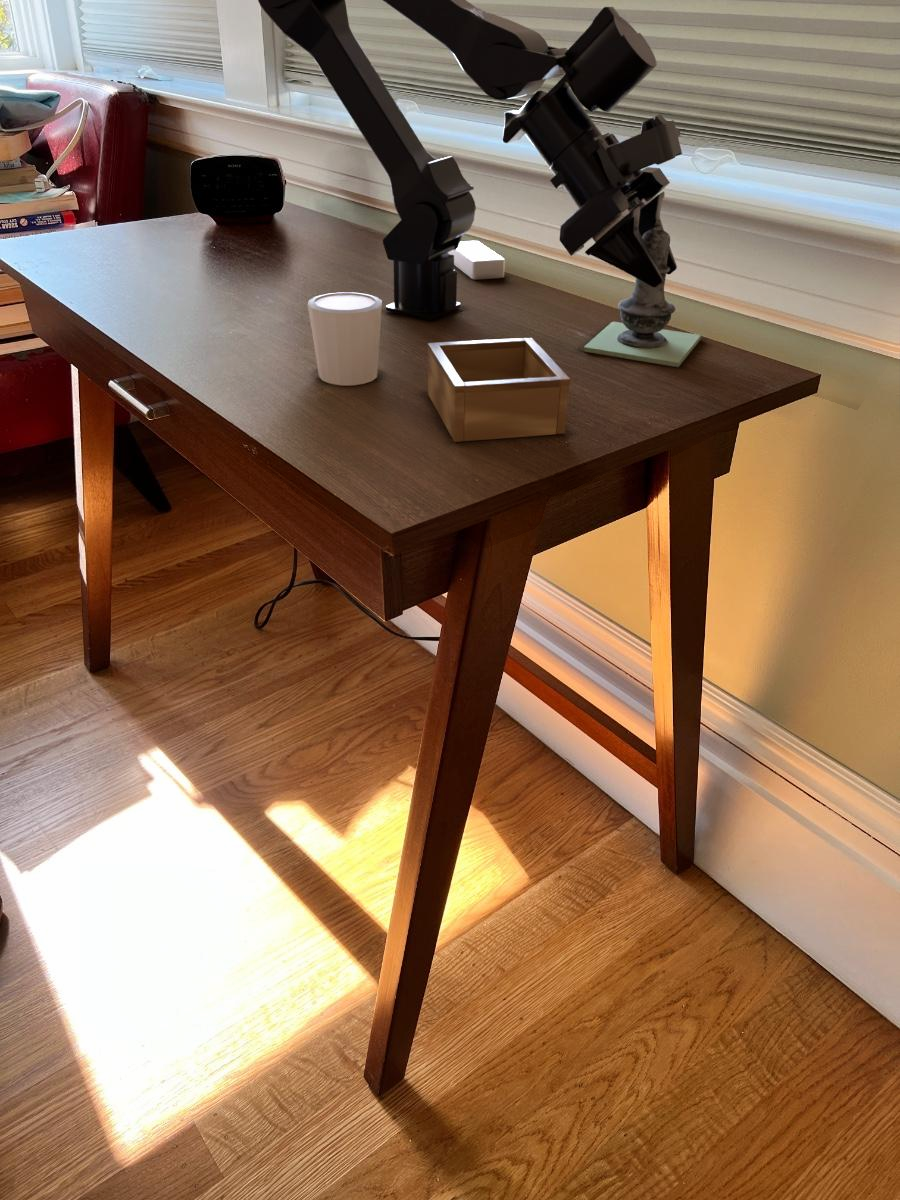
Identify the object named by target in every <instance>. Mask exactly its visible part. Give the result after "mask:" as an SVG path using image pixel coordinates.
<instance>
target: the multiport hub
mask: <svg viewBox="0 0 900 1200" xmlns="http://www.w3.org/2000/svg"><path fill="white" fill-rule="evenodd" d="M447 253H448V254H450V255H454V267H456V268H458V269H459V270H460V271H462V272H463V273H464V274H465V275H467V276H468V277H469V278H470V279H472V280H488V279H489V280H491V279H503V278H505V270H506V269H505V266H506V259H505V258H504V257H503V256H502V255H500V254H498V253H496V252H495V251H494V250H492V249H491V248H489V247H488V246H486V245H484V244H483V243H482V242H481V241H479V240H464V241H463V240H461V241H460V244H459V246H458V248H457V249H456V250H452V251H449V252H447Z"/></svg>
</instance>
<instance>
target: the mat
mask: <svg viewBox="0 0 900 1200" xmlns="http://www.w3.org/2000/svg"><path fill="white" fill-rule="evenodd" d="M627 330H629V329H627V328H626V326H625V325H624V324H623V322H618V321H611V322H610V323H609V324H608V325H607V326H606V327H605V328H604V329H602V330H601V331H600V332H599V333H598V334H597V335H595V337H593V338H592V339H590V341H589V342H587V344H584V346H583V349H582V351H583V352H584V353H589V354H590V353H591V354H597V355H601V356H602V355H603V356H609V357H614V358H620V359H626V360H631V361H638V362H644V363H650V364H656V365H661V366H667V367H672V368H673V367H674V368H679V367H680V366H681V365H682V363H683V362H684V361H685V360H686V358H687V357H688V356H689V355H690V353H691V352H692V351H693V349H694V348H696V346H697V345H698V344H699V342H700V341H701V340H702V334H697V333H691V332H683V331H676V330H670V329H665V328H663V329H662V330H661V331H659V332H658V333H660V334H662V335H663V336H664V337H665V338H666V339H667V344H666V345H665V346H662V347H659V348H636V347H630V346H627V345H624V344H622V343H620V342H619V341H618V340H617V336H618V335H619V334H621V333H623V332H624V331H627Z"/></svg>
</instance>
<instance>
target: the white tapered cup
mask: <svg viewBox="0 0 900 1200" xmlns="http://www.w3.org/2000/svg"><path fill="white" fill-rule="evenodd" d="M382 307H383V300H382V299H380V297H378V296H375V295H372V294H368V293H363V292H362V293H361V292H348V291H347V292H346V291H345V292H341V291H340V292H339V291H338V292H330V293H324V294H320V295H316V296H314V297H312V298H310V299H309V300H308V302H307V310H308V317H309V323H310V328H311V329H310V330H311V335H312V342H313V348H314V353H315V359H316V367H317V373H318V378H319V379H321V381H322V382H325V383H328V384H330V385H335V386H358V385H364V384H367V383H370V382H373V381H375V379H377V378H378V371H379V370H378V368H379V355H380V354H379V353H380V340H381V323H382V309H383V308H382Z"/></svg>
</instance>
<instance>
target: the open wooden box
mask: <svg viewBox="0 0 900 1200" xmlns="http://www.w3.org/2000/svg"><path fill="white" fill-rule="evenodd" d="M427 350H428V351H427V352H428V353H427V395H428V397H429V399H430V400H431V402H432V404H433V406H434V408H435V410H436V412H437V413H438V416H439V417H440V419H441V420H442V422H443V424H444V426H445V428H446V430H447V431H448V434H449V435H450V437H451V439H452V441H453V442H454V443H460V442H474V441H486V440H487V441H488V440H498V439H499V440H500V439H513V438H527V437H536V436H537V437H540V436H552V435H564V434H565V433H566V425H567V424H566V423H567V416H568V415H567V414H568V406H569V405H568V404H569V395H570V386H571V378H570V377H569V376H568V375H567V373H565V371H564V370H563V369H562V368H561V367H560V365H558V364H557V363H556V362H555V361H554V360H553V358H552V357H551V356H550V355H549V354H548V353H547V352H546V351H545V350H544V349H543V348H542V347H541V346H540V345H539V343H538V342H536V340H535V339H534V338H533V337H515V338H512V337H511V338H496V339H495V338H494V339H477V340H460V341H459V340H457V341H443V342H441V341H440V342H439V341H438V342H428V343H427Z"/></svg>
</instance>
